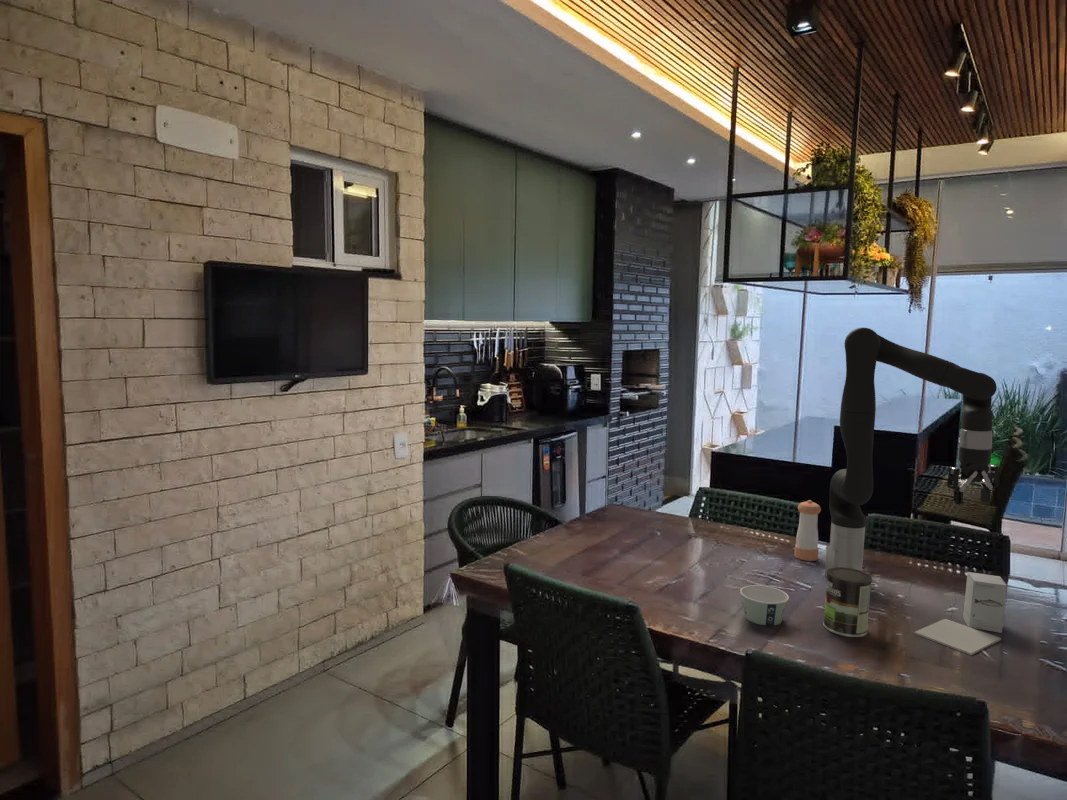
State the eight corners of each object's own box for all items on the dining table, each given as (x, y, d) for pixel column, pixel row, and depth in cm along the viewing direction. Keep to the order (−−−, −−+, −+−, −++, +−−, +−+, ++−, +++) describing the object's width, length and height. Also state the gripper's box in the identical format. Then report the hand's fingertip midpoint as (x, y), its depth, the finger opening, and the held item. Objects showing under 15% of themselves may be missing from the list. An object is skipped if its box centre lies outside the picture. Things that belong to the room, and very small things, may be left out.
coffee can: (836, 638, 166) (840, 582, 165) (815, 620, 177) (818, 567, 175) (876, 637, 167) (881, 581, 166) (853, 619, 177) (857, 566, 176)
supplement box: (968, 628, 173) (972, 580, 172) (962, 617, 180) (966, 570, 179) (1002, 634, 170) (1007, 585, 169) (995, 622, 177) (1000, 575, 176)
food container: (733, 607, 183) (734, 584, 183) (778, 609, 183) (780, 585, 182) (745, 627, 172) (747, 602, 171) (794, 628, 171) (795, 603, 170)
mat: (971, 655, 159) (971, 653, 159) (914, 633, 170) (914, 631, 169) (1000, 640, 167) (1000, 638, 167) (944, 620, 178) (945, 618, 178)
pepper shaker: (821, 561, 222) (825, 503, 220) (798, 560, 222) (802, 502, 220) (812, 553, 229) (816, 497, 227) (791, 553, 229) (794, 497, 227)
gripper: (964, 449, 183) (960, 508, 185) (1009, 447, 186) (1004, 505, 188) (942, 444, 191) (938, 501, 193) (986, 442, 193) (982, 498, 195)
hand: (971, 503), depth 190 cm, fingers open, 8 cm apart
